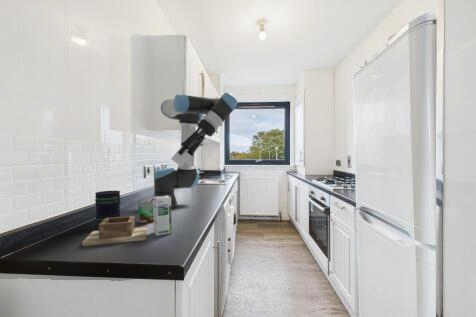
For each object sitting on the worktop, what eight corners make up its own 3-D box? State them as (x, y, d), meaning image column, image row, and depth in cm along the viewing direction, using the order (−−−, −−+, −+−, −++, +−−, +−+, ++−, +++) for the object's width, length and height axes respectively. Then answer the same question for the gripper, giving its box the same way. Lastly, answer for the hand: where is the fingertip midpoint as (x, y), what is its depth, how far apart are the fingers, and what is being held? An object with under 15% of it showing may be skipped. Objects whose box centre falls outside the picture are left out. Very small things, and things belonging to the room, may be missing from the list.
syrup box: (157, 236, 92) (156, 198, 92) (153, 232, 97) (152, 196, 97) (171, 233, 95) (171, 196, 95) (167, 229, 100) (167, 194, 100)
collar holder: (93, 234, 95) (92, 218, 95) (147, 229, 101) (147, 214, 101) (82, 246, 82) (82, 227, 82) (145, 239, 88) (145, 222, 88)
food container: (150, 225, 107) (149, 202, 107) (137, 224, 109) (137, 202, 108) (164, 218, 119) (163, 198, 119) (152, 218, 121) (152, 197, 121)
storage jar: (92, 226, 107) (91, 192, 107) (115, 221, 115) (115, 189, 115) (100, 230, 101) (99, 194, 101) (124, 225, 108) (123, 191, 108)
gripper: (217, 121, 90) (179, 165, 86) (216, 136, 115) (187, 171, 111) (201, 108, 90) (163, 152, 86) (203, 126, 115) (174, 161, 111)
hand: (176, 163), depth 99 cm, fingers open, 13 cm apart
